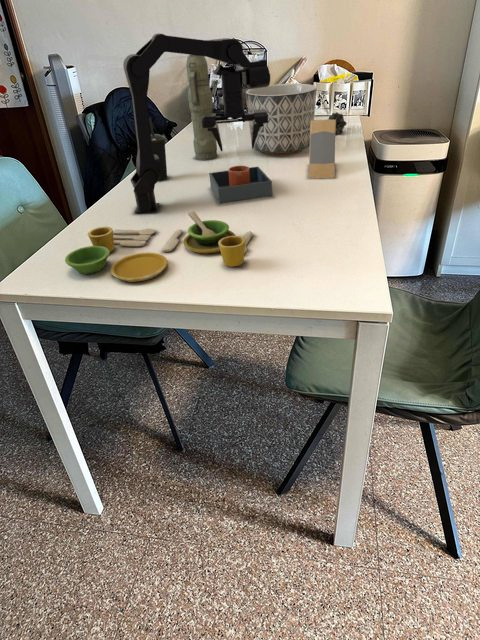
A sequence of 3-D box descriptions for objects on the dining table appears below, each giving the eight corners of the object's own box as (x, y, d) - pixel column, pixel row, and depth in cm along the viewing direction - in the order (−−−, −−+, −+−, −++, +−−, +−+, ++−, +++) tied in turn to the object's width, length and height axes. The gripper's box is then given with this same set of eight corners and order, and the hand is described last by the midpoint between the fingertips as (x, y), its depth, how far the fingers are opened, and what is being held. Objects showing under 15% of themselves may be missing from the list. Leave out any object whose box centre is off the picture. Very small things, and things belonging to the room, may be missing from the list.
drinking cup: (167, 182, 154) (157, 120, 142) (146, 182, 155) (134, 120, 144) (174, 175, 160) (165, 115, 148) (154, 175, 161) (143, 115, 150)
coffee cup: (250, 194, 137) (249, 171, 133) (230, 195, 138) (228, 172, 134) (250, 187, 143) (248, 164, 139) (230, 188, 143) (228, 166, 139)
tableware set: (259, 234, 114) (258, 210, 111) (235, 290, 92) (233, 263, 89) (111, 229, 123) (105, 207, 119) (57, 280, 101) (48, 255, 97)
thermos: (191, 161, 173) (178, 57, 153) (199, 153, 182) (188, 54, 162) (214, 161, 171) (203, 55, 151) (220, 152, 181) (211, 52, 161)
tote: (272, 197, 135) (271, 181, 132) (219, 205, 133) (218, 188, 130) (258, 181, 148) (258, 166, 145) (210, 188, 146) (209, 172, 143)
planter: (275, 164, 163) (274, 97, 150) (236, 151, 181) (232, 91, 169) (328, 149, 174) (331, 86, 161) (287, 138, 192) (286, 81, 180)
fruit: (330, 106, 198) (330, 112, 185) (348, 112, 198) (349, 118, 186) (323, 126, 203) (323, 133, 190) (340, 132, 203) (341, 139, 191)
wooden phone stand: (308, 178, 147) (309, 130, 139) (309, 165, 160) (310, 119, 151) (335, 178, 146) (337, 129, 137) (333, 164, 158) (336, 118, 150)
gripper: (264, 84, 130) (266, 140, 139) (201, 90, 131) (207, 145, 140) (267, 90, 121) (269, 149, 130) (198, 96, 122) (205, 155, 131)
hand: (237, 149), depth 133 cm, fingers open, 9 cm apart
